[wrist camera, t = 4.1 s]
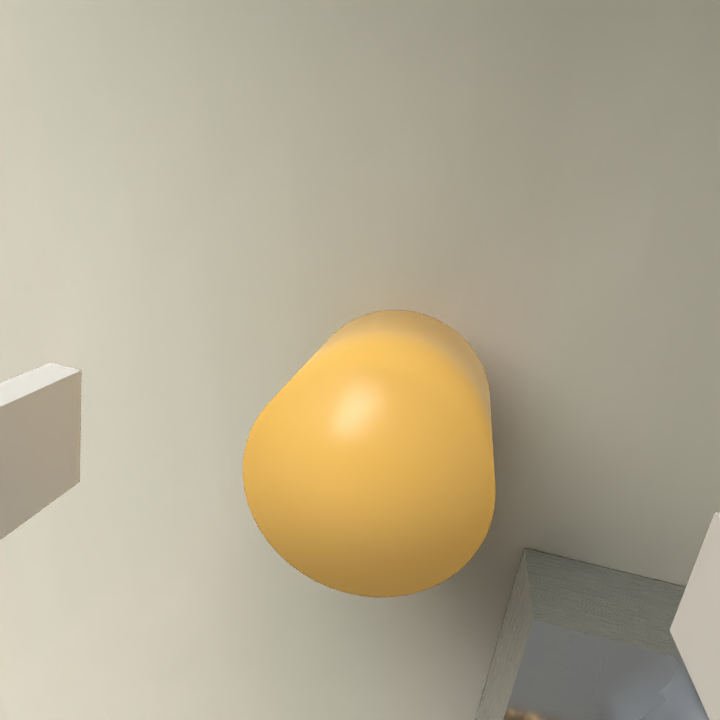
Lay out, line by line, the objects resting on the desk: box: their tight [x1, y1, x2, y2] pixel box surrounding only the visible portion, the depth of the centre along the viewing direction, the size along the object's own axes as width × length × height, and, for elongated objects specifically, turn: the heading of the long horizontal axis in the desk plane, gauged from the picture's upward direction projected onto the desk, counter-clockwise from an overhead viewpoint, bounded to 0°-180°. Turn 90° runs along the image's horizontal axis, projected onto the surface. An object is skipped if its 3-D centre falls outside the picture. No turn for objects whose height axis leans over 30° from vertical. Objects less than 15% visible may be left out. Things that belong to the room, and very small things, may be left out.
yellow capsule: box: [243, 310, 495, 597], centre depth 15 cm, size 5×5×8 cm
